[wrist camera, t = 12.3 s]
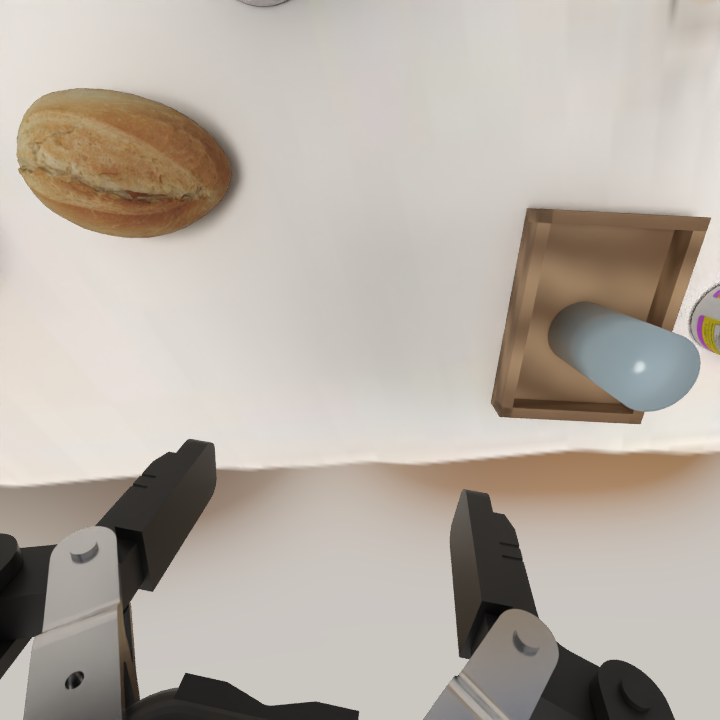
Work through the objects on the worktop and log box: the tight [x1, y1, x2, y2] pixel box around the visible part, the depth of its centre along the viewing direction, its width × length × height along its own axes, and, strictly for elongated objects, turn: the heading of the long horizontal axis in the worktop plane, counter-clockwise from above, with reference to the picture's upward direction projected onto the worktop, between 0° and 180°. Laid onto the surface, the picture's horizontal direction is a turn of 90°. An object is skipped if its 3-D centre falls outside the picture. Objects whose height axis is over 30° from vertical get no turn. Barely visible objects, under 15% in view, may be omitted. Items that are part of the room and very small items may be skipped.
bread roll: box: [17, 88, 231, 238], centre depth 29 cm, size 10×15×8 cm, turn 86°
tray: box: [491, 208, 711, 424], centre depth 35 cm, size 18×13×3 cm
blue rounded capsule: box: [548, 302, 700, 412], centre depth 31 cm, size 6×6×10 cm
